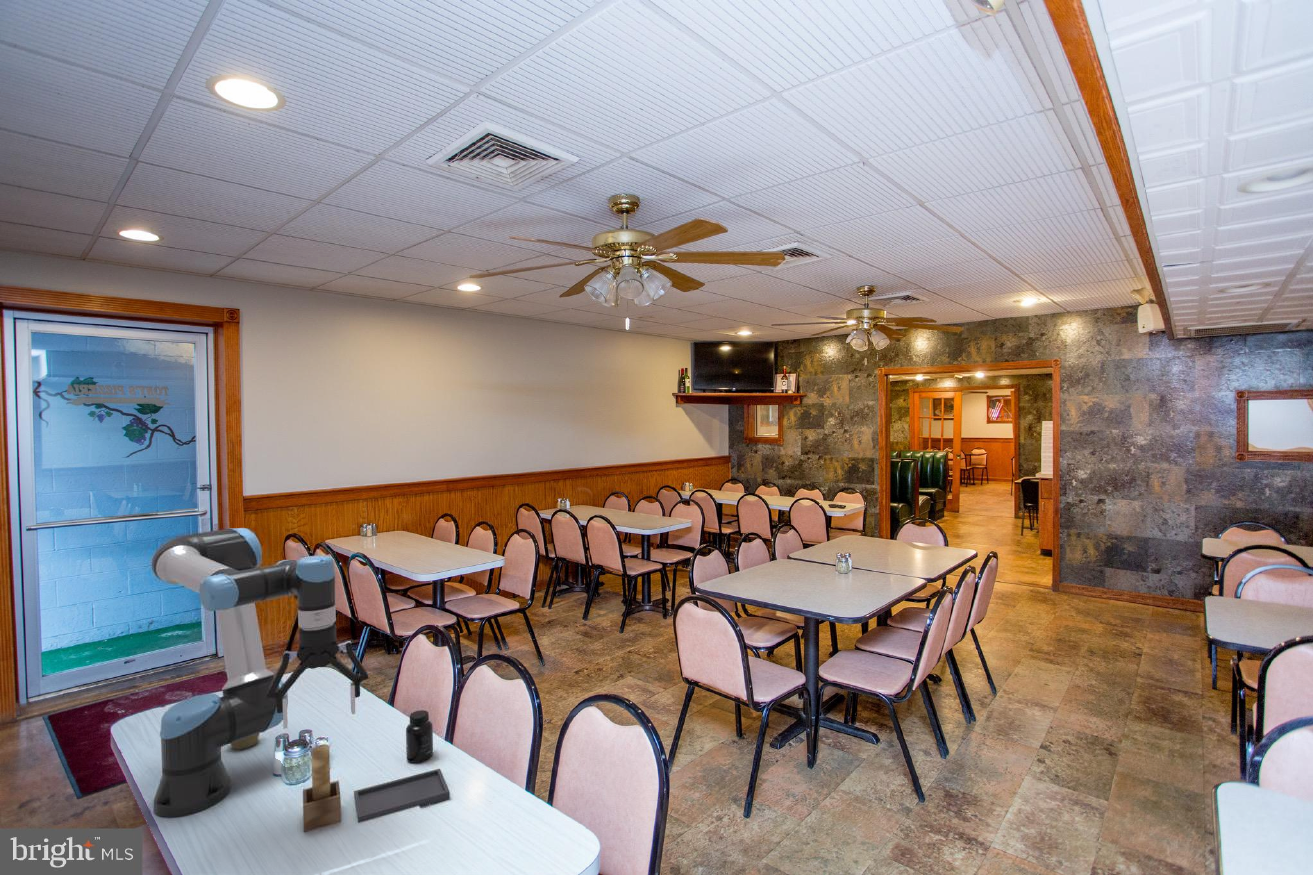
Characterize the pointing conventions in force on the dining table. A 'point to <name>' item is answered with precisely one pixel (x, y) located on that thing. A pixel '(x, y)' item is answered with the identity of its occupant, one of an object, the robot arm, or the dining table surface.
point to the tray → (401, 795)
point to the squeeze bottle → (245, 742)
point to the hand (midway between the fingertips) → (320, 718)
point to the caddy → (321, 808)
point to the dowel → (320, 772)
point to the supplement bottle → (419, 737)
